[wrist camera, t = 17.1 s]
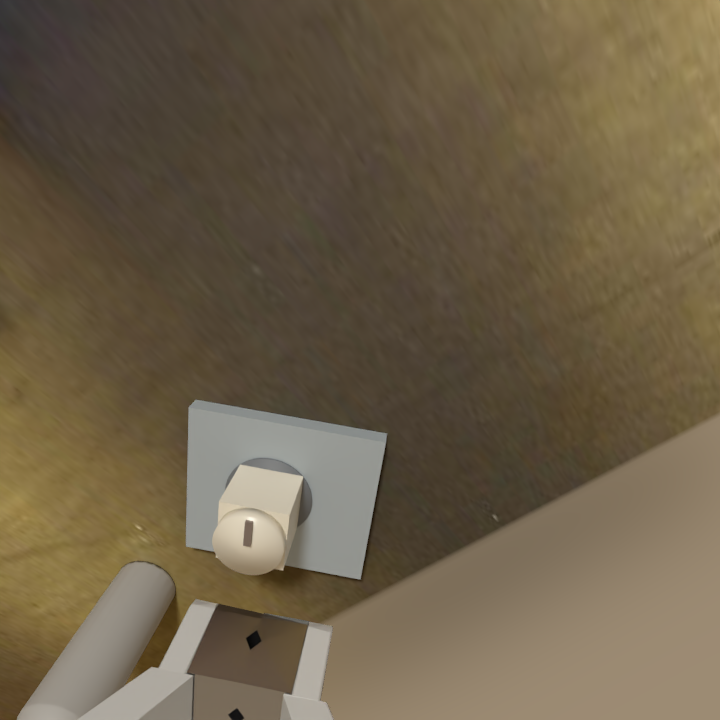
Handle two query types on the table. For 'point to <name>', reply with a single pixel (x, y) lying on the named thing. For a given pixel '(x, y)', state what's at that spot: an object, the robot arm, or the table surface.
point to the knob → (257, 520)
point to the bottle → (104, 645)
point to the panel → (293, 456)
